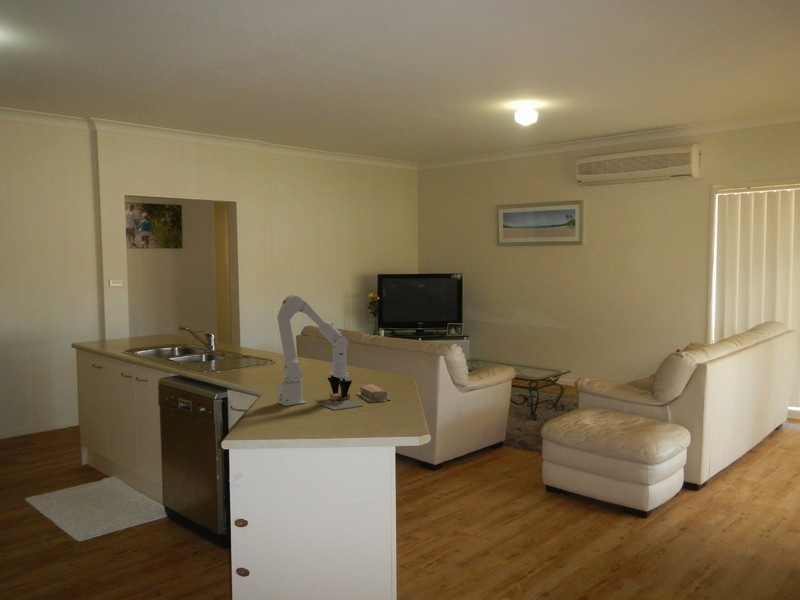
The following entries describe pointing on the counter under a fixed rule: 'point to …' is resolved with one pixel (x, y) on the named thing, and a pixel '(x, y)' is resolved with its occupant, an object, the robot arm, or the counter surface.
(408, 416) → the counter surface
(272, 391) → the counter surface
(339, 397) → the walnut block
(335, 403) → the slate mat
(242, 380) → the counter surface
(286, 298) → the robot arm
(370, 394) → the packaged product
